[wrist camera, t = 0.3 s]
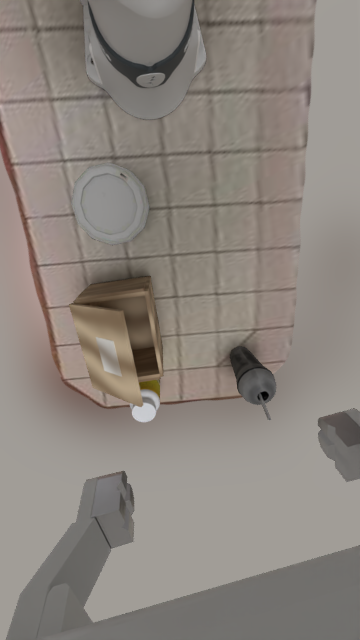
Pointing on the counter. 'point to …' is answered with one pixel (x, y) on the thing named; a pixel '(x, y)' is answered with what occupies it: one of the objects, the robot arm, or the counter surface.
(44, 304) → the counter surface
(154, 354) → the cardboard carton
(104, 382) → the lid flap
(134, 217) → the disposable coffee cup
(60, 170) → the counter surface
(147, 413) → the pill bottle
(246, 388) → the beverage cup
